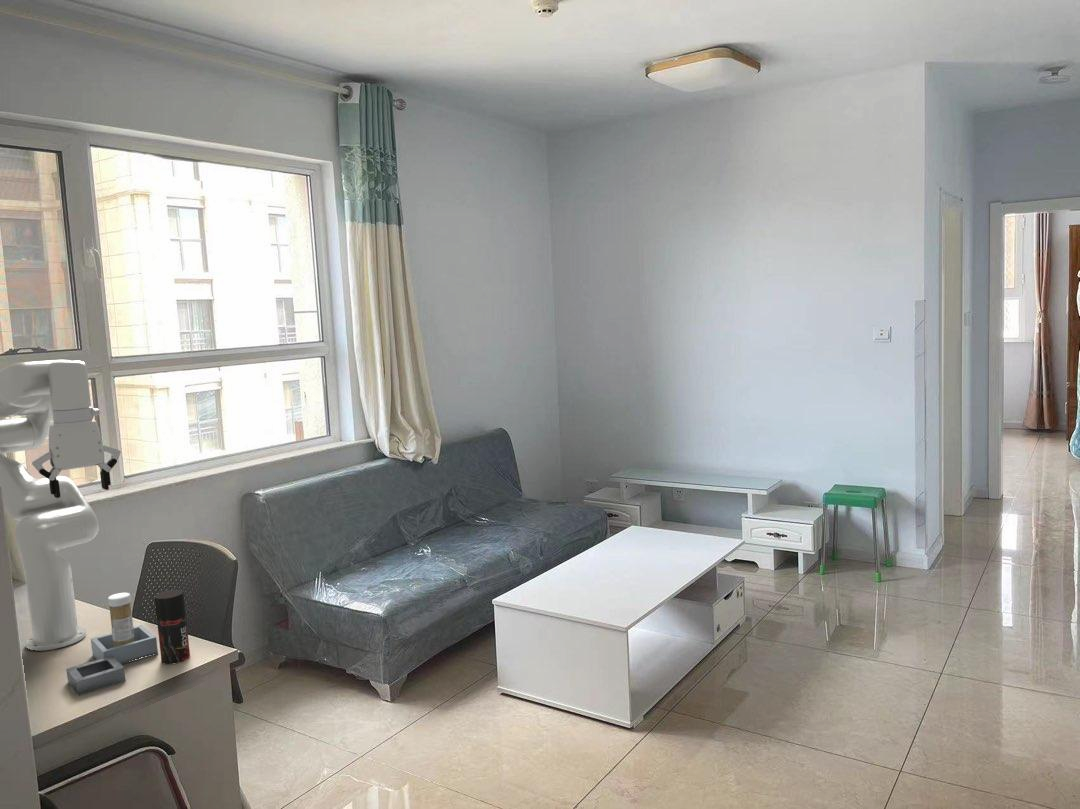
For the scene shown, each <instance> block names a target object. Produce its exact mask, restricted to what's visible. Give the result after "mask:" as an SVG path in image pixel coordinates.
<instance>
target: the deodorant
mask: <svg viewBox="0 0 1080 809" xmlns="http://www.w3.org/2000/svg"><path fill="white" fill-rule="evenodd" d="M154 604H155V606H154V607H155V614H156V624H157V633H158V641H159V652H160V659H161V660H160V661H161V663H162V664H163V663H165V664H164V665H174V664H173V663H176V664H179V663H178V662H180V663H182V661H183V662H185V661H187V660H189V658H190V657H191V653H190V643H189V632H188V624H187V614H186V613H187V612H186V605H185V594H184V590H182V589H170V590H165V591H164V590H163V591H161V592H158V593H156V594H154ZM186 659H187V660H186ZM184 660H185V661H184Z"/></svg>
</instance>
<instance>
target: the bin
mask: <svg viewBox="0 0 1080 809" xmlns="http://www.w3.org/2000/svg"><path fill="white" fill-rule="evenodd" d="M133 630H134V642H132V643H128V644H125V645H121V646H117V647H114V642H113V637H112V632H110V633H107V634H103V635H99V636H96V637H93V638H90V644H91V645H90V646H91V652H92V654H91V655H92V656H93V658H94V657H95V658H94V659H95V660H99V659H102V658H106V657H109V656H113V657H114V658H115V659H116V660H117V661H118V662H119V663H120V664H122V665H125V664H124V663H126V662H129V661H132V660H135V659H139V658H141V657H145V656H149V655H153V654H156V655H158V654H159V650H158V641H157V640H158V639H157V636H156V635H154V634H153V633H152V632H151V631H150V630H149V629H147V628H146V627H145V626H144V625H143V624H139V625H137V626H133ZM157 653H158V654H157ZM153 656H154V655H153ZM149 657H150V656H149ZM139 660H140V659H139ZM132 662H133V661H132ZM129 663H130V662H129ZM126 664H127V663H126Z"/></svg>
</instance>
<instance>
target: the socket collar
mask: <svg viewBox="0 0 1080 809" xmlns="http://www.w3.org/2000/svg"><path fill="white" fill-rule="evenodd" d="M65 670H66V677H67V683H68V684H69V686H70V687H71V689H72V690H73V691H74V693H76V695H77V696H79V697H80V696H82V695H85V694H88V692H89V693H92V692H94V691H98V690H101V689H104V688H107V687H111V686H114V685H117V684H120V683H123V682H126V672H125V667H124V666H123V664H122V665H121V664H120V663H119V662H118V661H117V660H116V659H115V658H114V657H113V656H109V657H106V658H102V659H99V660H96V659H95V660H92V661H89V662H84V663H82V664H79V665H75V666H71V667H68V668H66V669H65Z"/></svg>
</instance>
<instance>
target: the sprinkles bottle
mask: <svg viewBox="0 0 1080 809" xmlns="http://www.w3.org/2000/svg"><path fill="white" fill-rule="evenodd" d="M131 601H132V598H131V594H130V593H129V592H118V593H114V594H111V595H109V596H108V598H107V603H108V604H107V605H108V607H109V615H110V624H111V633H112V637H113V642H114V647H117V646H121V645H125V644H128V643H132V642H134V630H133V627H134V622H133V621H134V620H133V614H132V606H131V603H132V602H131Z"/></svg>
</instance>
